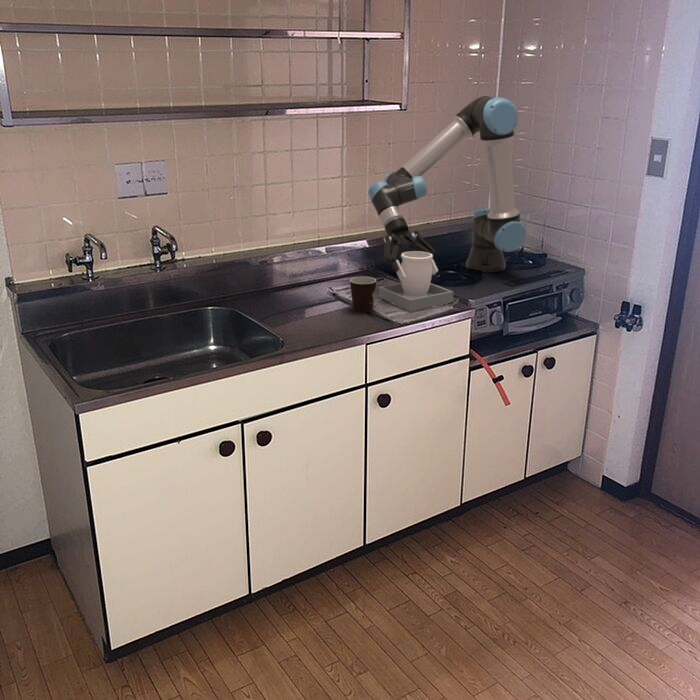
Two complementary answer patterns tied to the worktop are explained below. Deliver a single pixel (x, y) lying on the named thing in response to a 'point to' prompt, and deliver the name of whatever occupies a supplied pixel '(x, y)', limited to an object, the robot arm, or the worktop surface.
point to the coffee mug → (363, 293)
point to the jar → (416, 273)
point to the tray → (434, 298)
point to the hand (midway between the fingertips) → (419, 275)
